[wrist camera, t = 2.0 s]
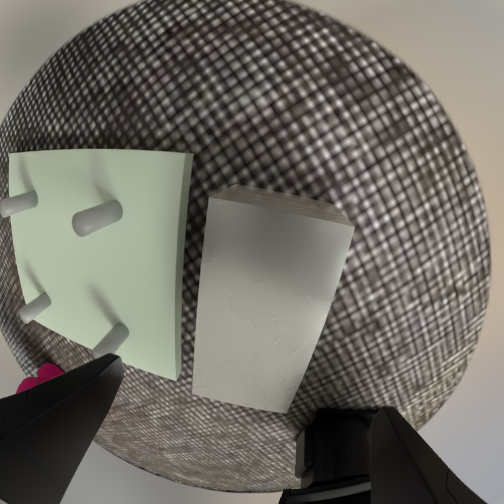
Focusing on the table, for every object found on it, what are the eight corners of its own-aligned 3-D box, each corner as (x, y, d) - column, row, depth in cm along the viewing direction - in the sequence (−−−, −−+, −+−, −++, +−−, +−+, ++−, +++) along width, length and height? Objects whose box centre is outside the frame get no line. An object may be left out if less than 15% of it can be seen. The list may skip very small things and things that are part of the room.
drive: (236, 183, 14) (209, 197, 9) (332, 203, 13) (354, 227, 9) (214, 344, 17) (192, 399, 13) (287, 359, 17) (284, 418, 12)
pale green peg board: (193, 153, 13) (156, 153, 9) (181, 370, 18) (161, 410, 14) (20, 152, 14) (-19, 158, 10) (37, 311, 20) (10, 333, 16)
